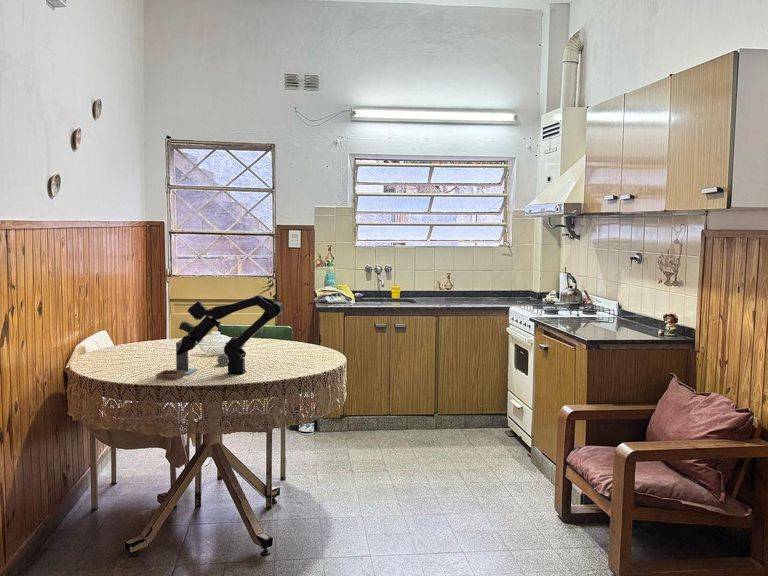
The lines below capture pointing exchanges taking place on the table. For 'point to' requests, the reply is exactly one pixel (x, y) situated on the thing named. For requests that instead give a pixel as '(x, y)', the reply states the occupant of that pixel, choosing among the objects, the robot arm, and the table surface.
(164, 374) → the brown square frame
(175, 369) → the mat
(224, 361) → the flashlight
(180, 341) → the grey jar with lid
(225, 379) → the table surface
